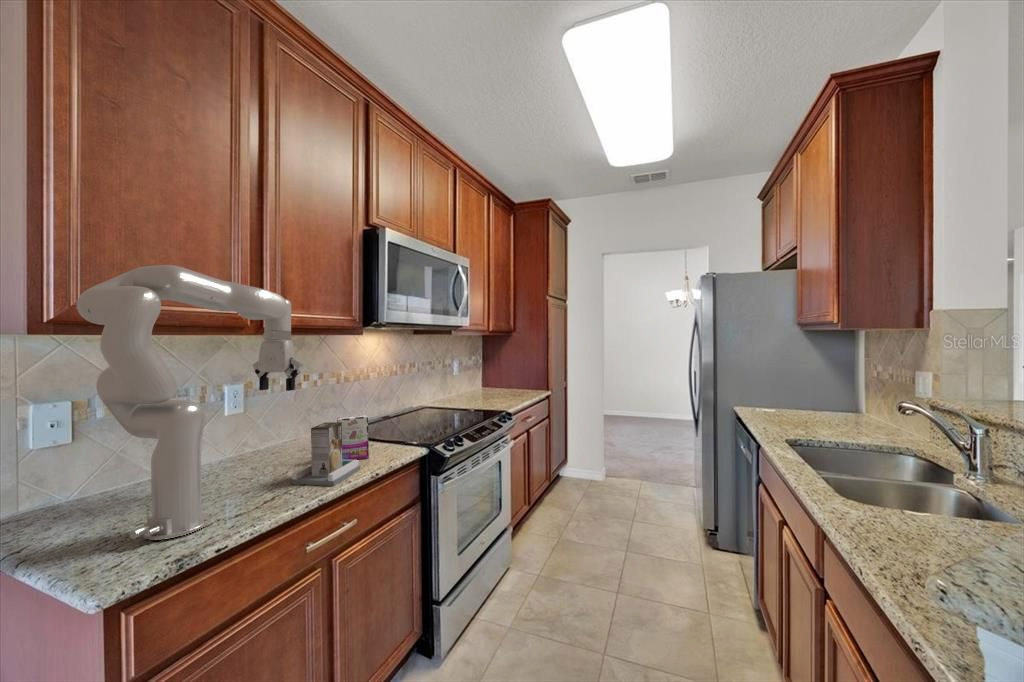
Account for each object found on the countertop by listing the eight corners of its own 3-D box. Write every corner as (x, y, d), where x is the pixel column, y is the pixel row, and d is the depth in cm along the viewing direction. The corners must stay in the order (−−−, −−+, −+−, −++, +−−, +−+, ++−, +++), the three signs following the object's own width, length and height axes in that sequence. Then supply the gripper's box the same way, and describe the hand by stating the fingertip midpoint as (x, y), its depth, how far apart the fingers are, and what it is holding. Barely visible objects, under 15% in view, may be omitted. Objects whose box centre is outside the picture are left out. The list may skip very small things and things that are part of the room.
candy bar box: (367, 455, 162) (367, 414, 162) (369, 458, 158) (368, 416, 158) (337, 459, 157) (336, 416, 157) (337, 462, 153) (337, 419, 153)
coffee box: (325, 467, 142) (324, 421, 142) (343, 468, 142) (342, 422, 142) (310, 476, 133) (310, 427, 133) (330, 477, 132) (329, 427, 132)
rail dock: (334, 486, 128) (333, 475, 128) (290, 483, 131) (290, 473, 131) (360, 469, 144) (360, 459, 144) (321, 468, 146) (321, 458, 146)
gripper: (245, 336, 129) (244, 390, 129) (293, 336, 126) (292, 391, 126) (263, 337, 137) (262, 388, 136) (309, 337, 134) (308, 389, 133)
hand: (277, 390), depth 131 cm, fingers open, 9 cm apart
